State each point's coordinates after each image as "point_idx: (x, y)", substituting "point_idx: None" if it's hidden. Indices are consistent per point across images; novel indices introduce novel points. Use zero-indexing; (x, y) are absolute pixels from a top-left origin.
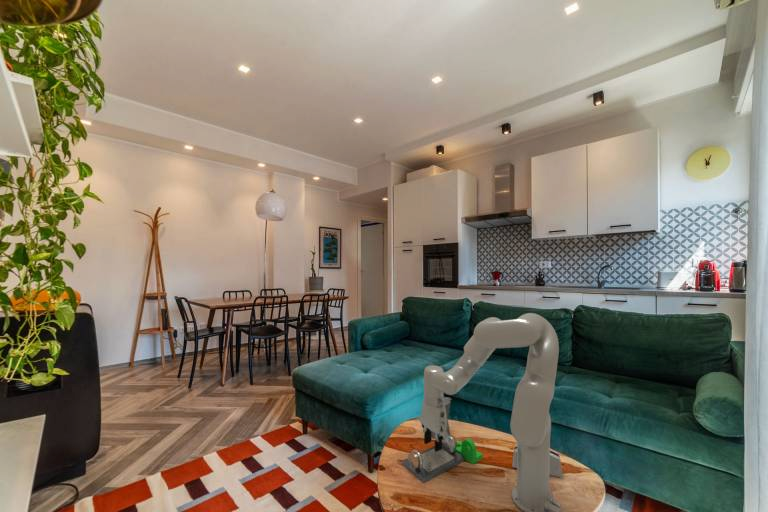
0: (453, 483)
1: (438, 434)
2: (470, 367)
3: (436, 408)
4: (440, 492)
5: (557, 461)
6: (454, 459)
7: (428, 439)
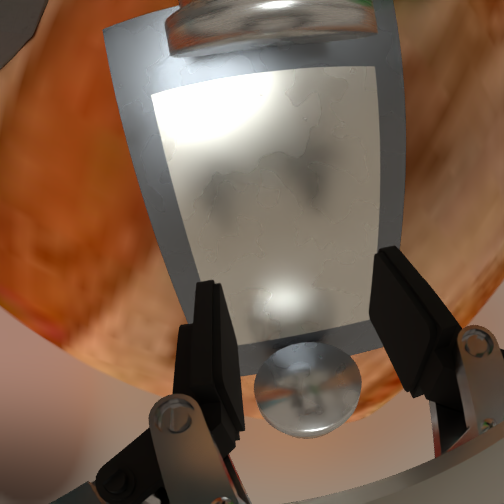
0: (465, 218)
1: (8, 30)
2: None
3: None
4: (451, 295)
5: None
6: (379, 82)
7: (231, 345)
